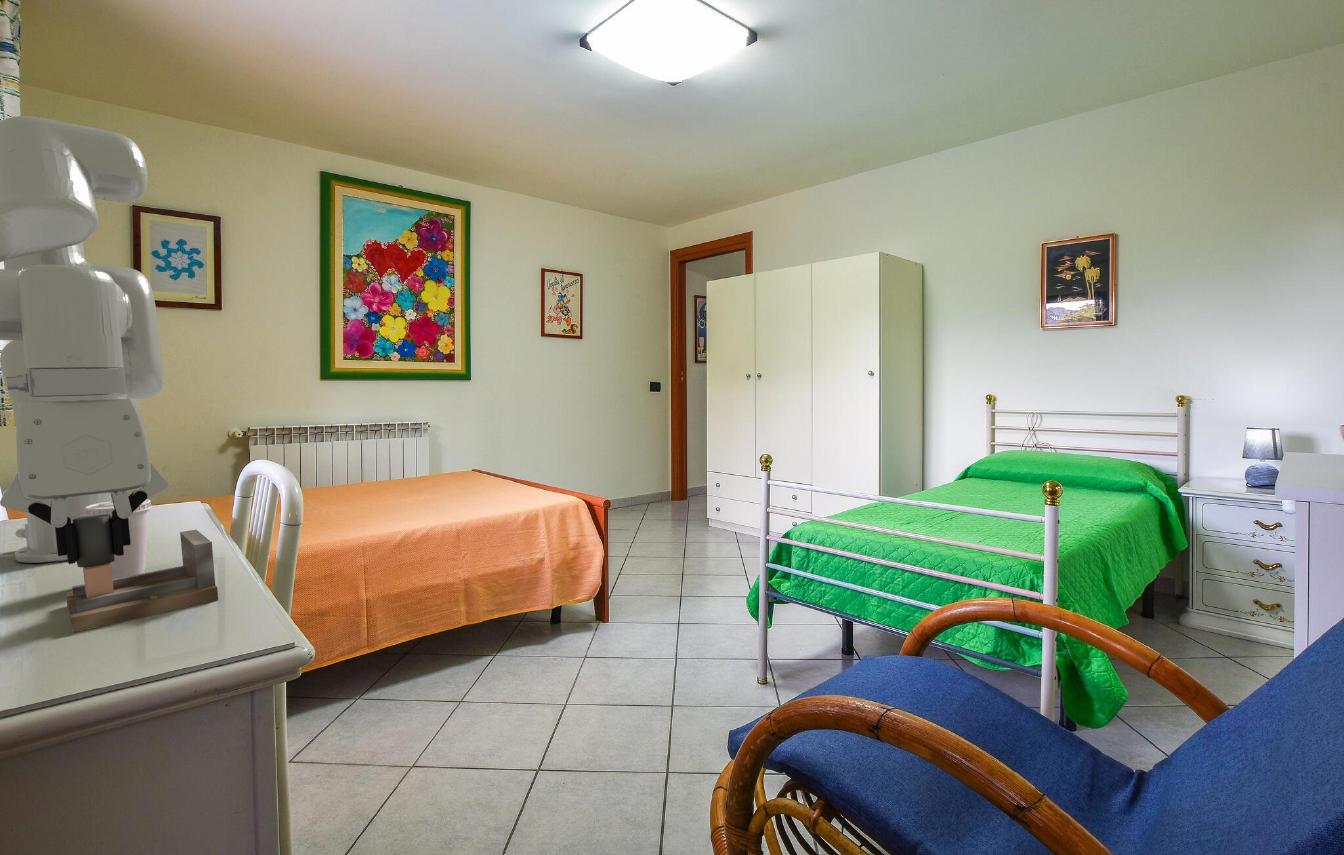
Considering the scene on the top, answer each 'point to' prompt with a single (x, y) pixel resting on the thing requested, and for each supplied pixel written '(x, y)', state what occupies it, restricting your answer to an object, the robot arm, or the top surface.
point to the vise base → (150, 589)
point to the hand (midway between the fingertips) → (95, 555)
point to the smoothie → (138, 527)
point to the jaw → (95, 553)
